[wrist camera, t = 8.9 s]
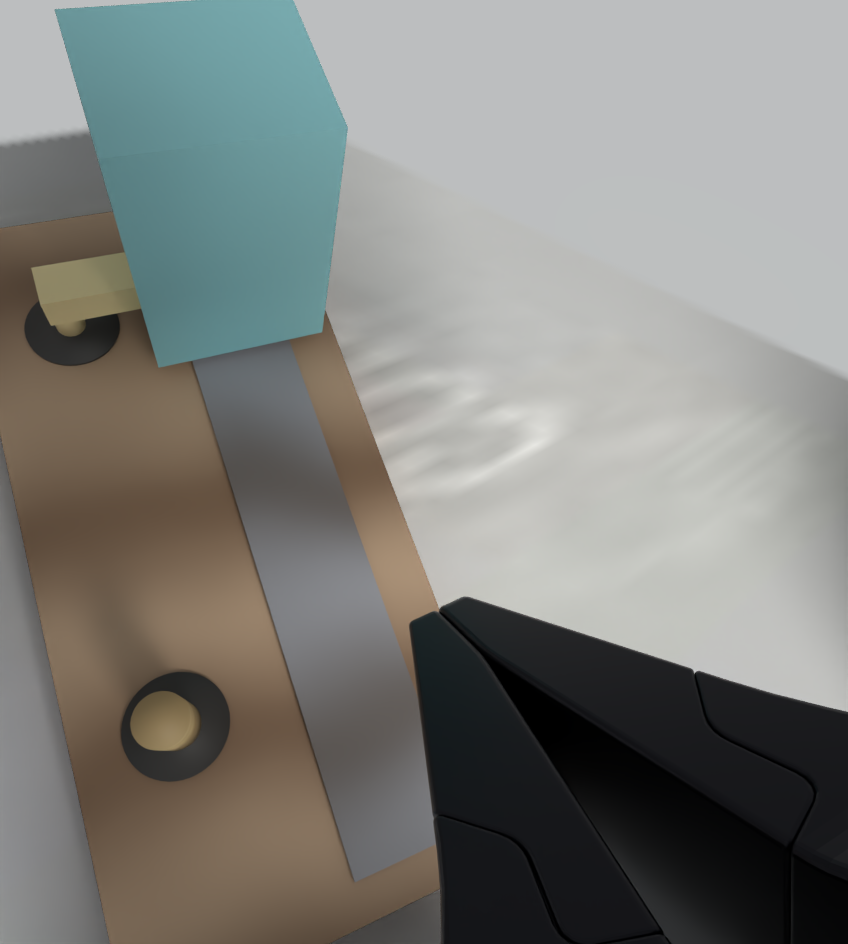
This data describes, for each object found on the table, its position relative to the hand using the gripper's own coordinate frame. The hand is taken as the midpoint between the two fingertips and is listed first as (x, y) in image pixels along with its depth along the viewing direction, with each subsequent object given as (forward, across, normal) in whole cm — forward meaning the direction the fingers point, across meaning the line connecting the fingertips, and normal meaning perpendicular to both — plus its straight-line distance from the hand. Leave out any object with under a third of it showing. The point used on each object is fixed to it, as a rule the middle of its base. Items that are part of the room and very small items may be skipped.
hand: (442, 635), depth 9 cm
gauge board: (+13, +2, +4) cm, 14 cm away
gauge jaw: (+16, +1, -3) cm, 16 cm away
